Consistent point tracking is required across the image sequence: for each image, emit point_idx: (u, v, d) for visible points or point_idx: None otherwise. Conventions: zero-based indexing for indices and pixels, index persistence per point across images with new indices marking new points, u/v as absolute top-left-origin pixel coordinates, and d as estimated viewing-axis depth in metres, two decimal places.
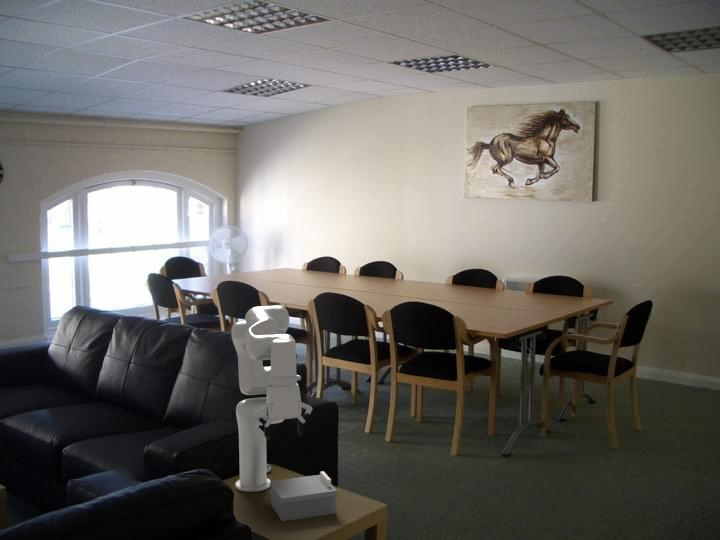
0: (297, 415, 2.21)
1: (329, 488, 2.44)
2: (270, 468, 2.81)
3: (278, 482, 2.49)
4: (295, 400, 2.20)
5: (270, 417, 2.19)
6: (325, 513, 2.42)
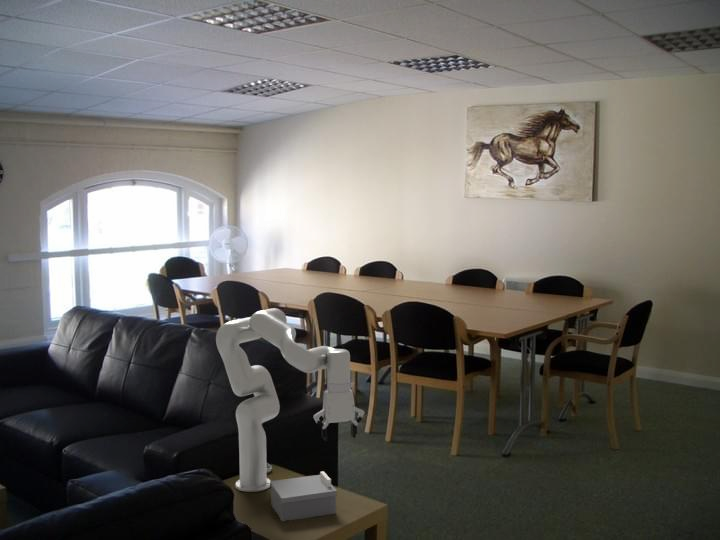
0: (351, 418, 2.45)
1: (329, 488, 2.44)
2: (271, 468, 2.81)
3: (278, 482, 2.49)
4: (349, 405, 2.44)
5: (327, 420, 2.43)
6: (325, 513, 2.42)
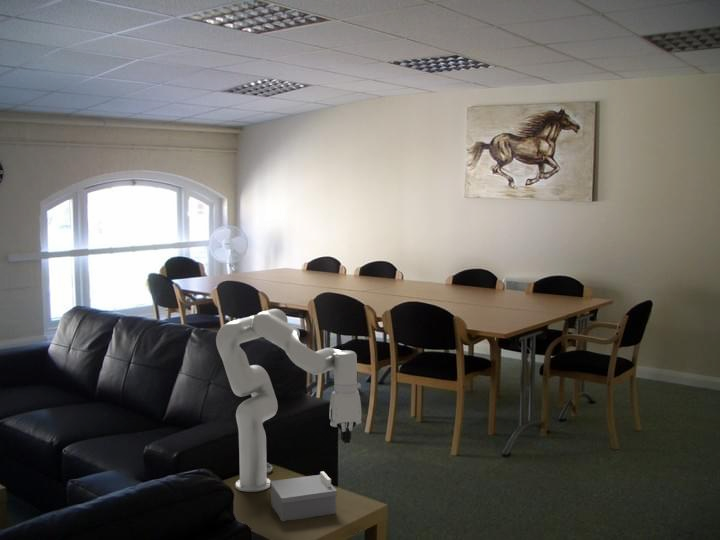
0: (358, 419, 2.49)
1: (329, 488, 2.44)
2: None
3: (278, 482, 2.49)
4: (356, 405, 2.48)
5: (334, 420, 2.46)
6: (325, 513, 2.42)
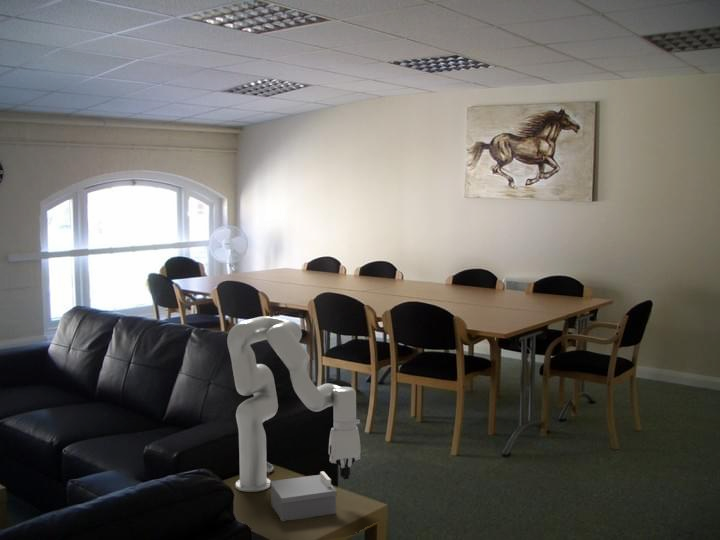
0: (357, 455, 2.50)
1: (329, 488, 2.44)
2: None
3: (278, 482, 2.49)
4: (355, 442, 2.49)
5: (333, 457, 2.47)
6: (325, 513, 2.42)
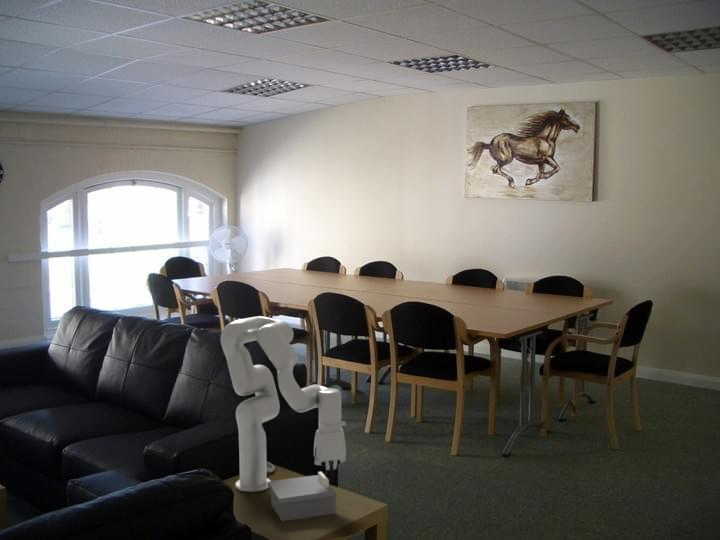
0: (342, 457, 2.48)
1: (327, 488, 2.44)
2: None
3: (276, 482, 2.49)
4: (340, 444, 2.47)
5: (318, 459, 2.45)
6: (325, 513, 2.42)
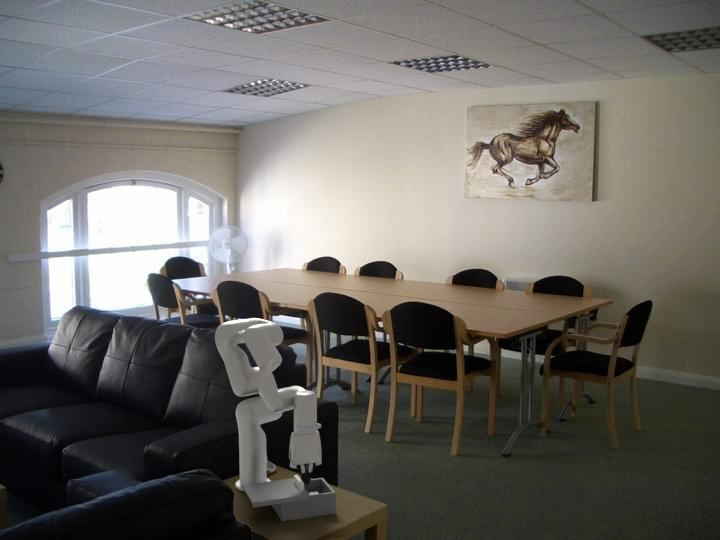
0: (317, 460, 2.45)
1: (302, 492, 2.41)
2: (275, 468, 2.81)
3: (251, 486, 2.46)
4: (316, 446, 2.44)
5: (293, 462, 2.42)
6: (325, 513, 2.42)
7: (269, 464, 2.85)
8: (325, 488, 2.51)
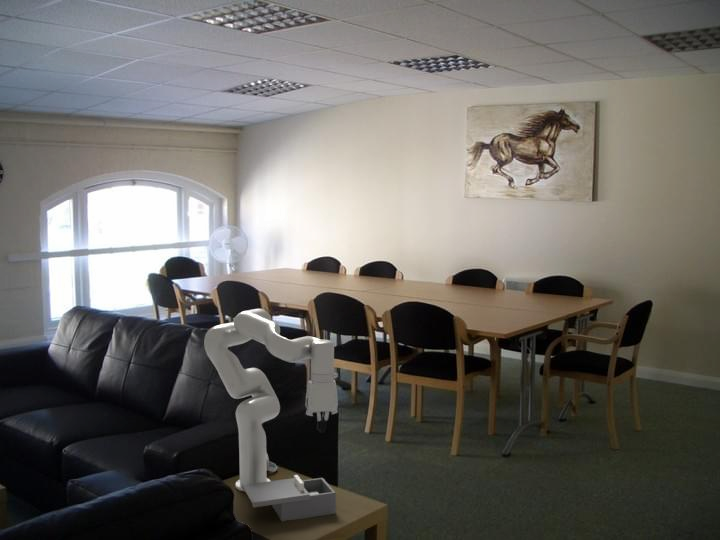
0: (333, 408, 2.48)
1: (302, 492, 2.41)
2: (276, 468, 2.82)
3: (251, 486, 2.46)
4: (332, 395, 2.47)
5: (310, 409, 2.45)
6: (325, 513, 2.42)
7: (270, 464, 2.85)
8: (325, 488, 2.51)
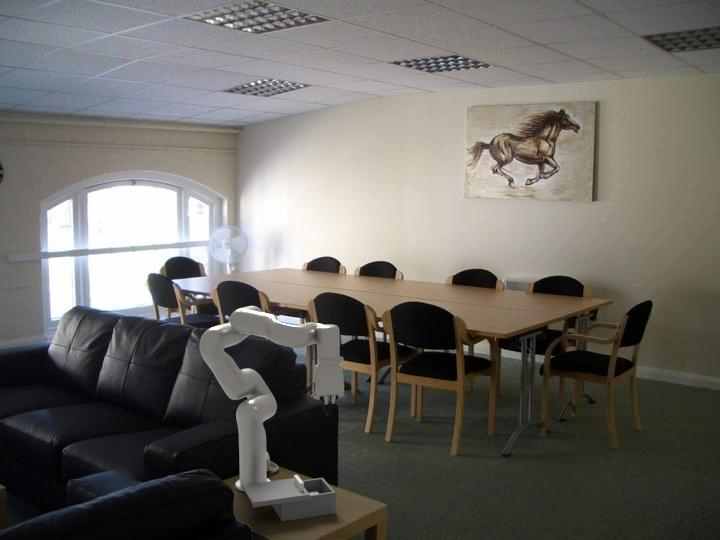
0: (340, 392, 2.52)
1: (302, 492, 2.41)
2: None
3: (251, 486, 2.46)
4: (338, 378, 2.51)
5: (317, 393, 2.50)
6: (325, 513, 2.42)
7: (271, 464, 2.85)
8: (325, 488, 2.51)
